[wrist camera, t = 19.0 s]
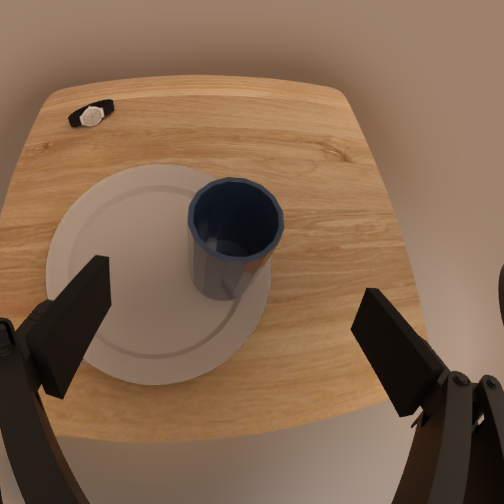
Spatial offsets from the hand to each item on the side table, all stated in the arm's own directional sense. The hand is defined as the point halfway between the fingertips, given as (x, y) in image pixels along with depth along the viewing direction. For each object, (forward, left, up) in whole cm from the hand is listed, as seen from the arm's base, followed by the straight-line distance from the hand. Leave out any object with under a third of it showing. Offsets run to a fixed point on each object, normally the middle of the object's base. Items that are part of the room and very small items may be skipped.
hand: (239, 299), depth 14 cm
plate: (+8, +7, -17) cm, 20 cm away
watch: (+32, +21, -17) cm, 42 cm away
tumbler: (+7, 0, -15) cm, 17 cm away
